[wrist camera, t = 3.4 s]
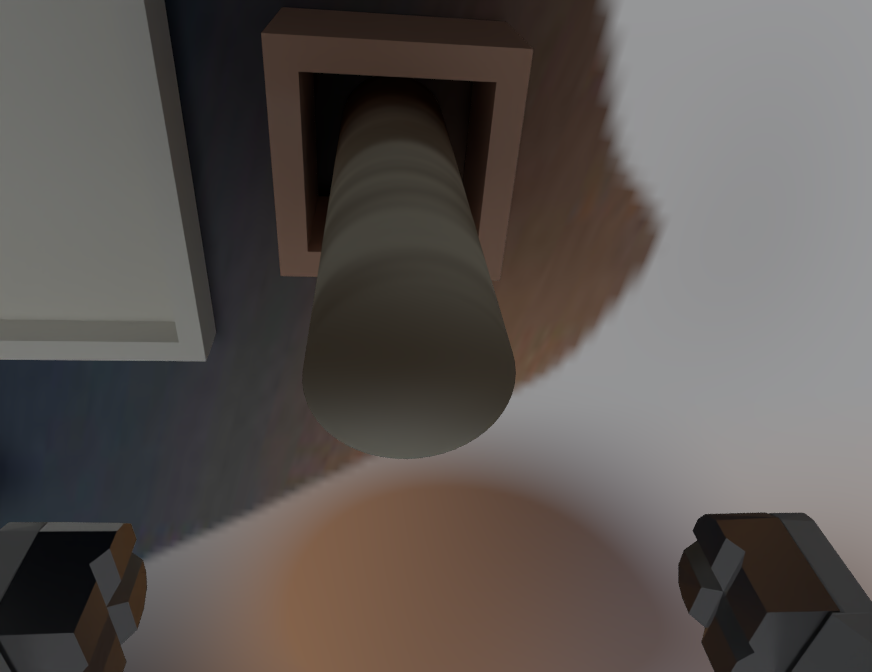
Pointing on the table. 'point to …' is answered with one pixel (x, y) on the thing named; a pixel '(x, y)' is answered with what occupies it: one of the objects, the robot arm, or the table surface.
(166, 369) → the table surface
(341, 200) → the olive grey ringed cylinder
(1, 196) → the tray
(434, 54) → the brown square sleeve
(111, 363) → the table surface
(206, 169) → the table surface
